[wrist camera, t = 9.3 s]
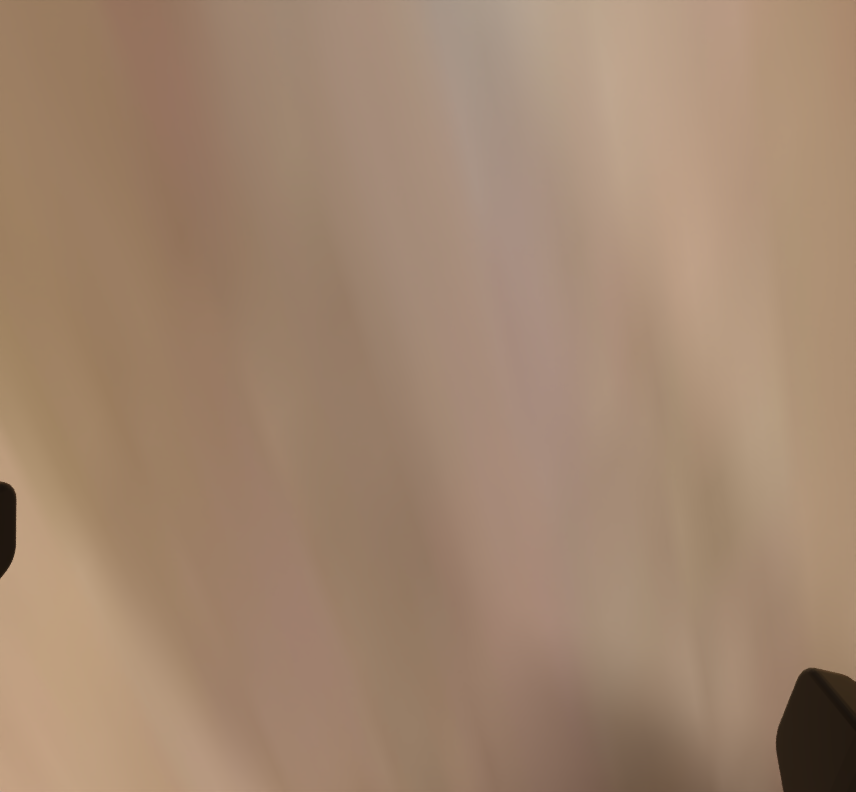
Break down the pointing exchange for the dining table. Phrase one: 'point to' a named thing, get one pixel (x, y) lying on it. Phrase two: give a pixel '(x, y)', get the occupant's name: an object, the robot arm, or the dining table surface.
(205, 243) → the dining table surface
